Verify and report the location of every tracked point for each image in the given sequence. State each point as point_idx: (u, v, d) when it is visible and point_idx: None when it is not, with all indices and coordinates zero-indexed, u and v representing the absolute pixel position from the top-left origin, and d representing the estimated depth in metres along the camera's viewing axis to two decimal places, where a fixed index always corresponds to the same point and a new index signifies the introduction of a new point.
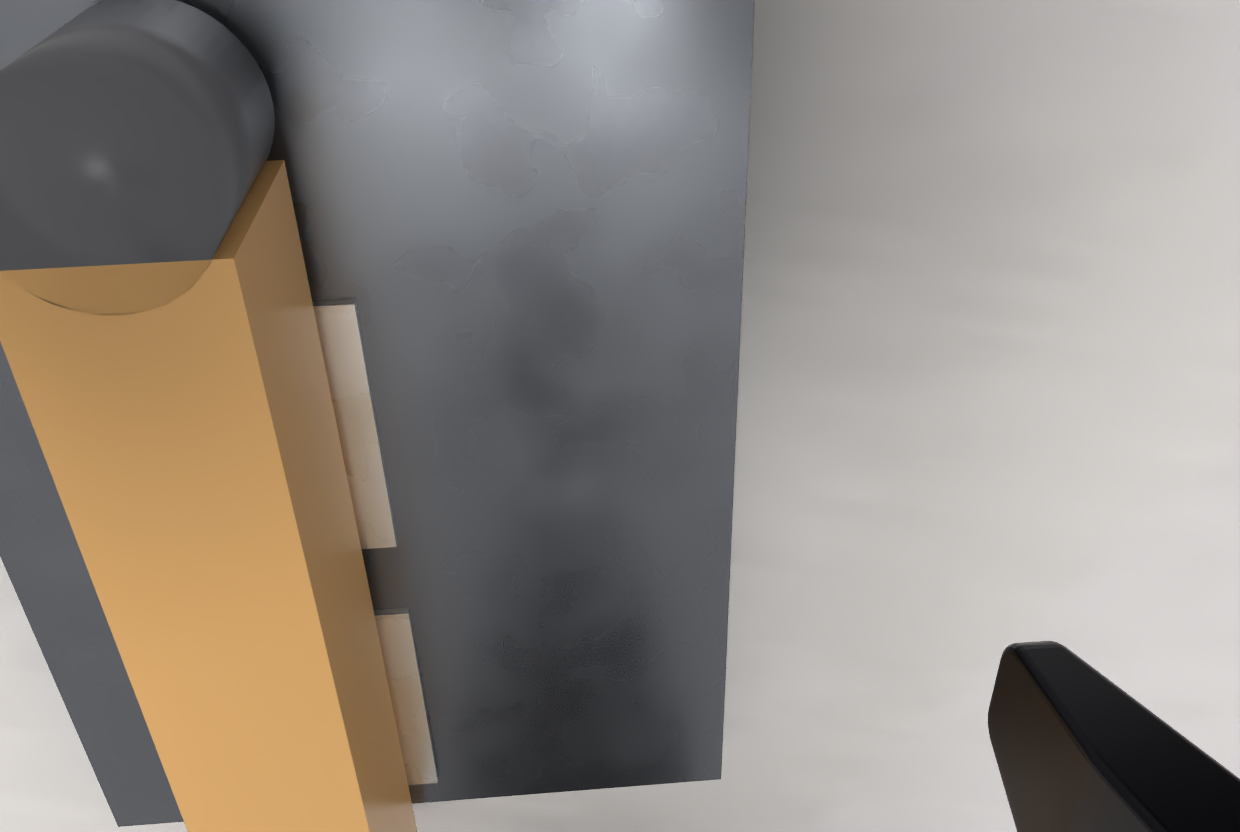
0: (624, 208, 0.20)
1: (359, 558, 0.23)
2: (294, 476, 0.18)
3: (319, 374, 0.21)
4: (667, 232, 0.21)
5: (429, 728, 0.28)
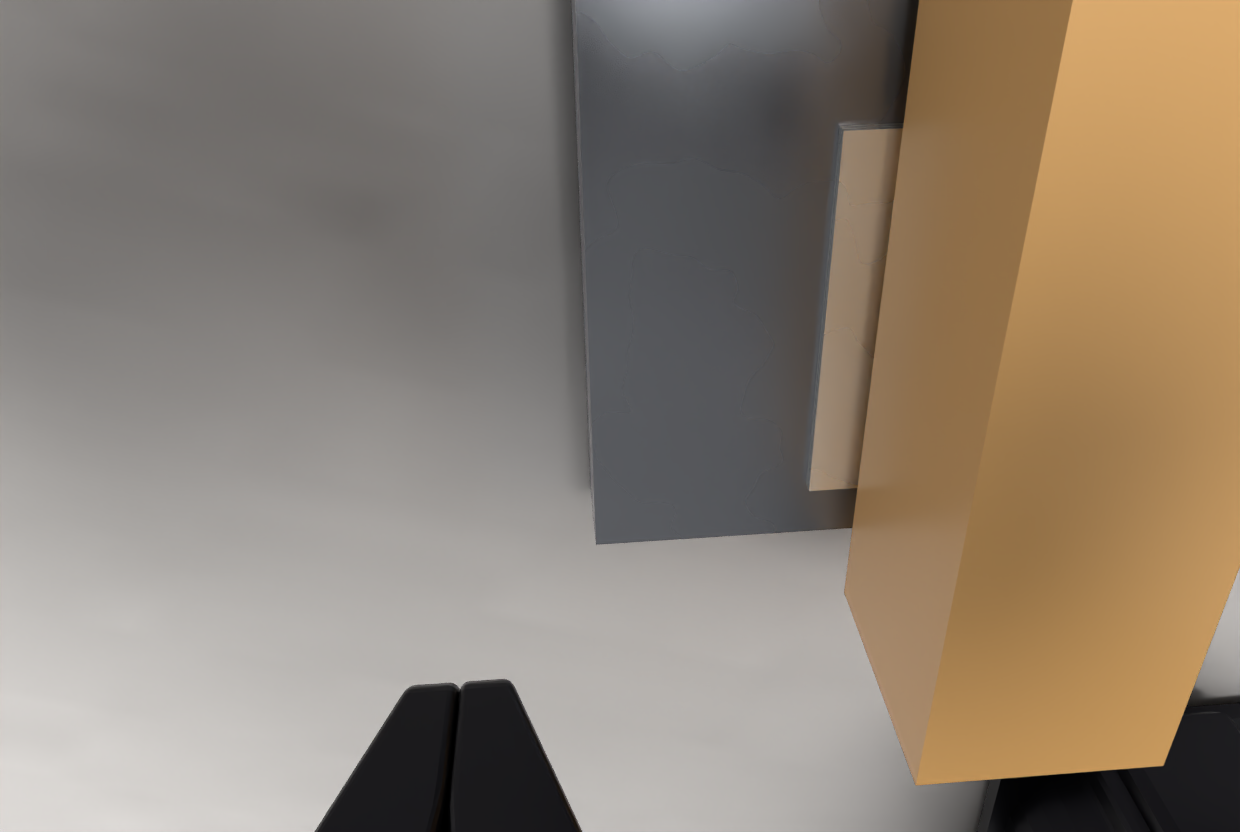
0: None
1: None
2: None
3: None
4: None
5: None
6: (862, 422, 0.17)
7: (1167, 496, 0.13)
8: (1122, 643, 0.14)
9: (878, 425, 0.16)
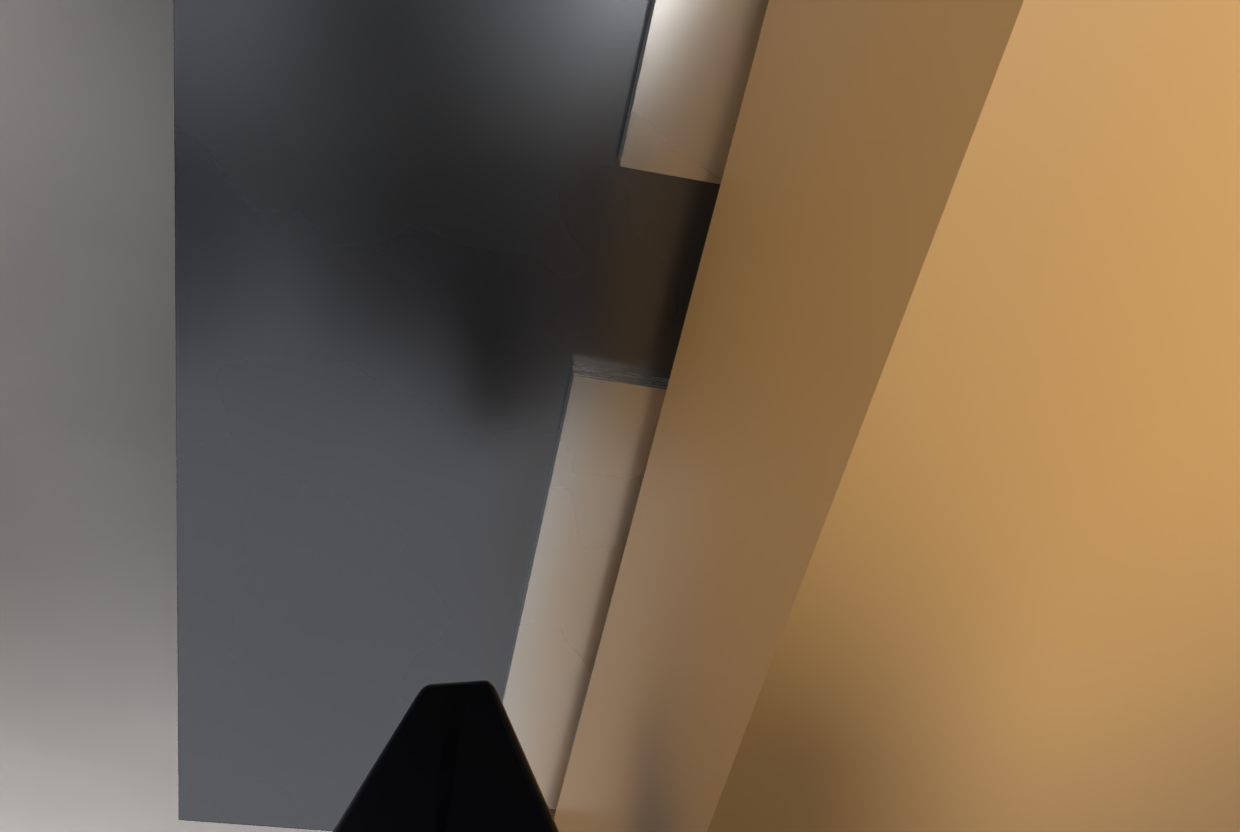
0: None
1: None
2: None
3: None
4: None
5: None
6: (562, 735, 0.12)
7: None
8: None
9: (580, 768, 0.11)
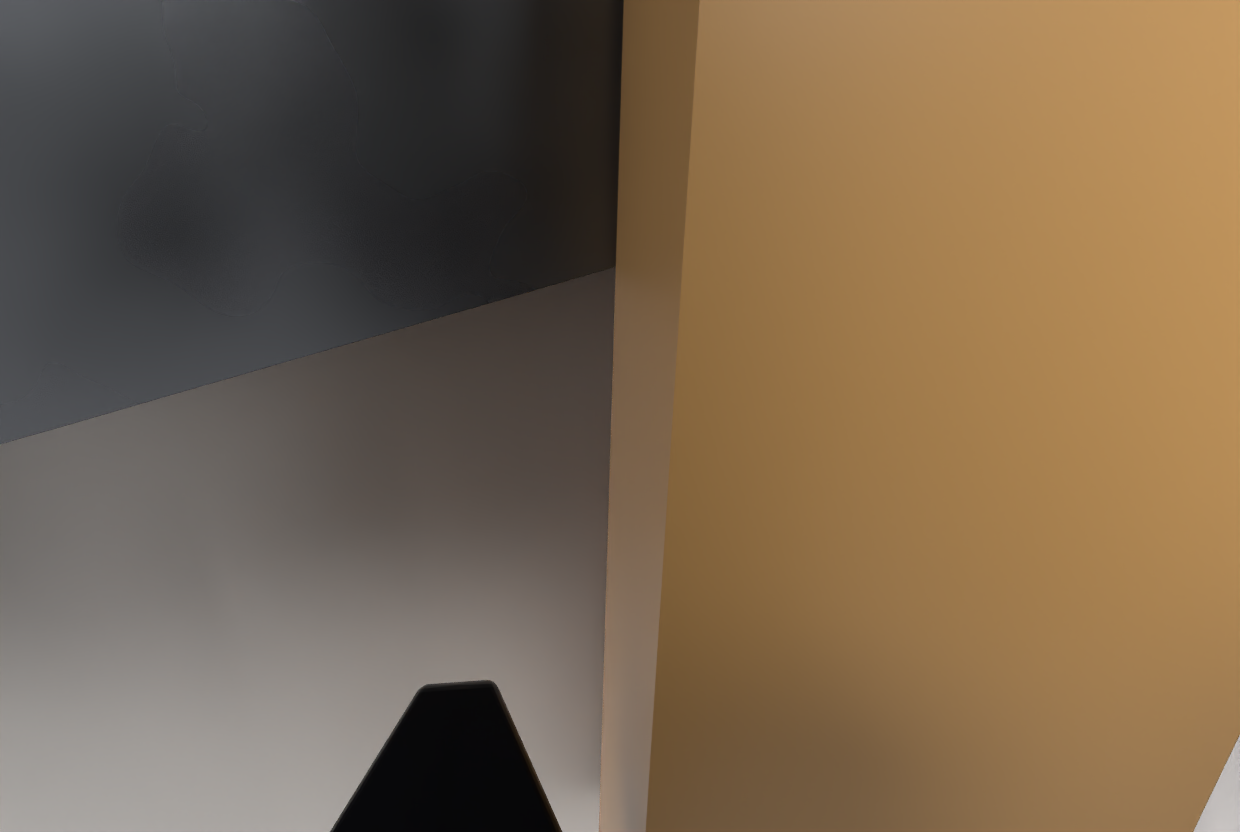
0: None
1: None
2: None
3: None
4: None
5: None
6: None
7: None
8: None
9: (604, 758, 0.11)
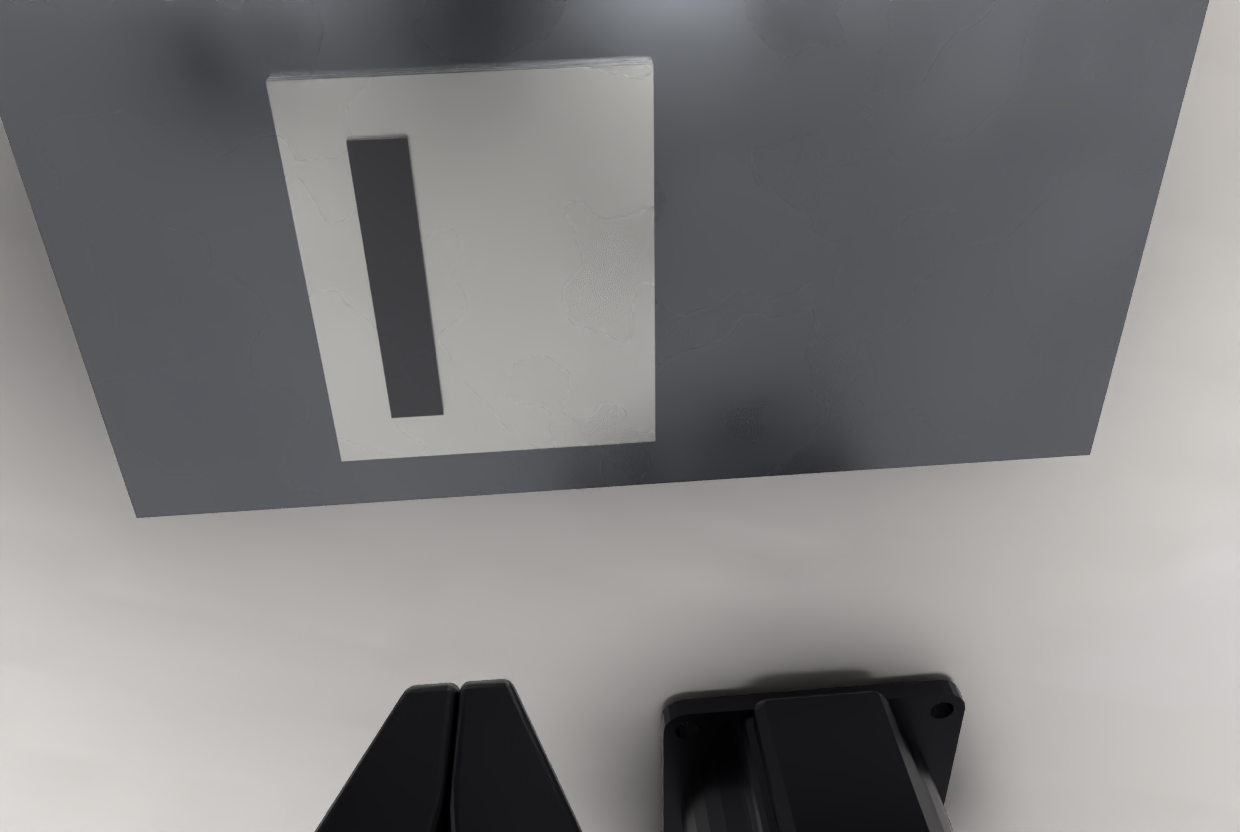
0: None
1: None
2: None
3: None
4: None
5: (653, 334, 0.17)
6: (378, 389, 0.17)
7: None
8: None
9: None
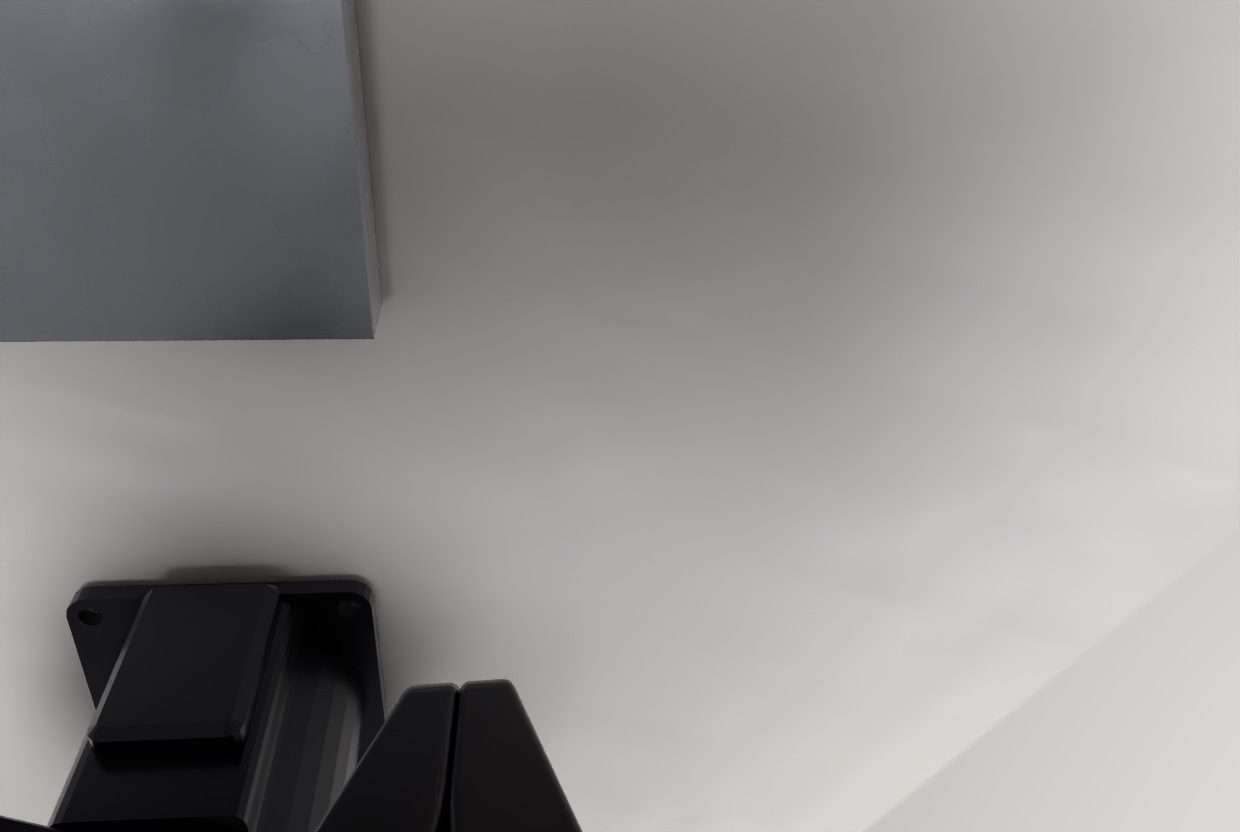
0: None
1: None
2: None
3: None
4: None
5: None
6: None
7: None
8: None
9: None
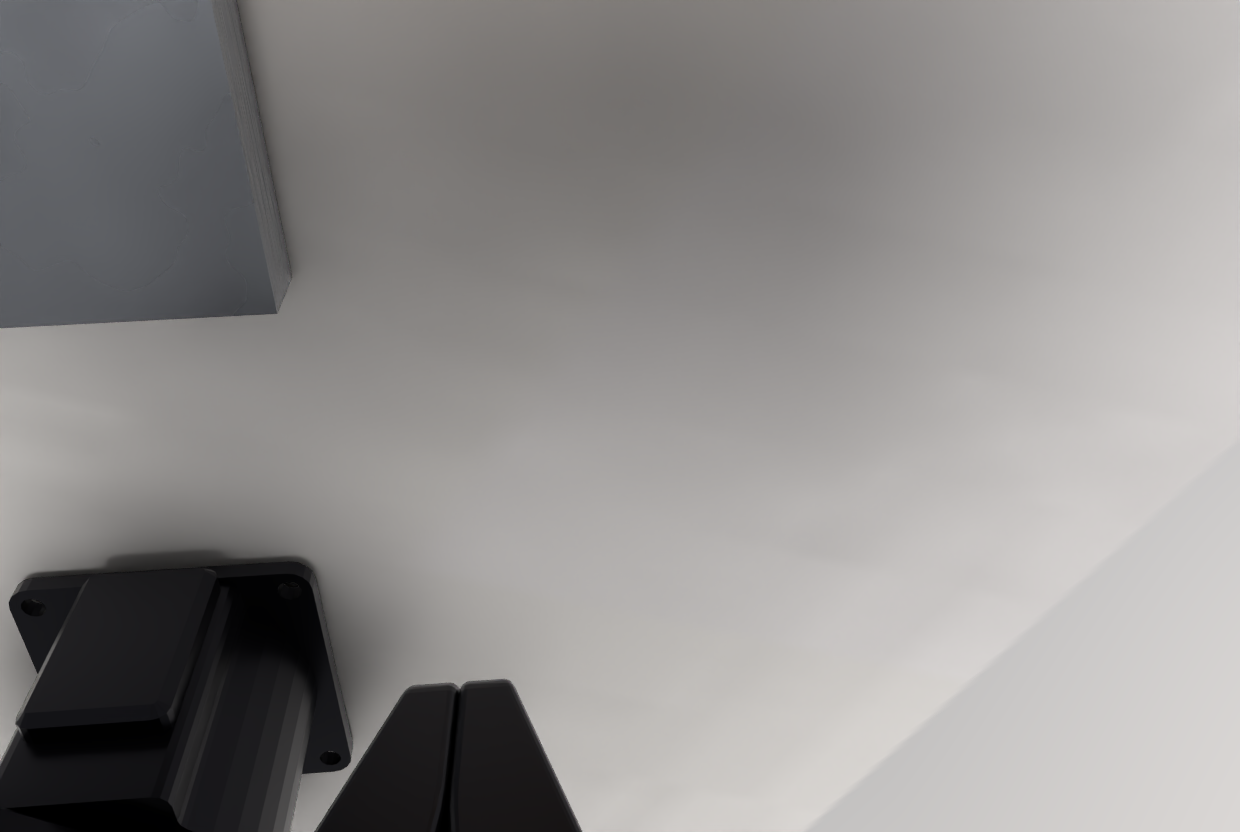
0: None
1: None
2: None
3: None
4: None
5: None
6: None
7: None
8: None
9: None
